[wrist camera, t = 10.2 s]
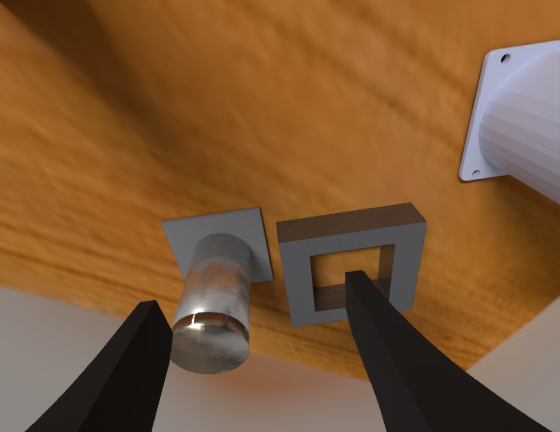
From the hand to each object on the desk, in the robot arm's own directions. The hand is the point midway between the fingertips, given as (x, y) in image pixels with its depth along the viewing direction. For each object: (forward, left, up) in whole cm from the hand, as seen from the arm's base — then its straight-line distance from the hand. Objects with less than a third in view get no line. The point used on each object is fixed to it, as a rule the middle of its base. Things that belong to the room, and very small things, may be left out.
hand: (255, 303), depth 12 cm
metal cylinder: (+4, +6, -10) cm, 12 cm away
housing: (-6, +8, -10) cm, 14 cm away
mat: (+4, +6, -10) cm, 12 cm away
